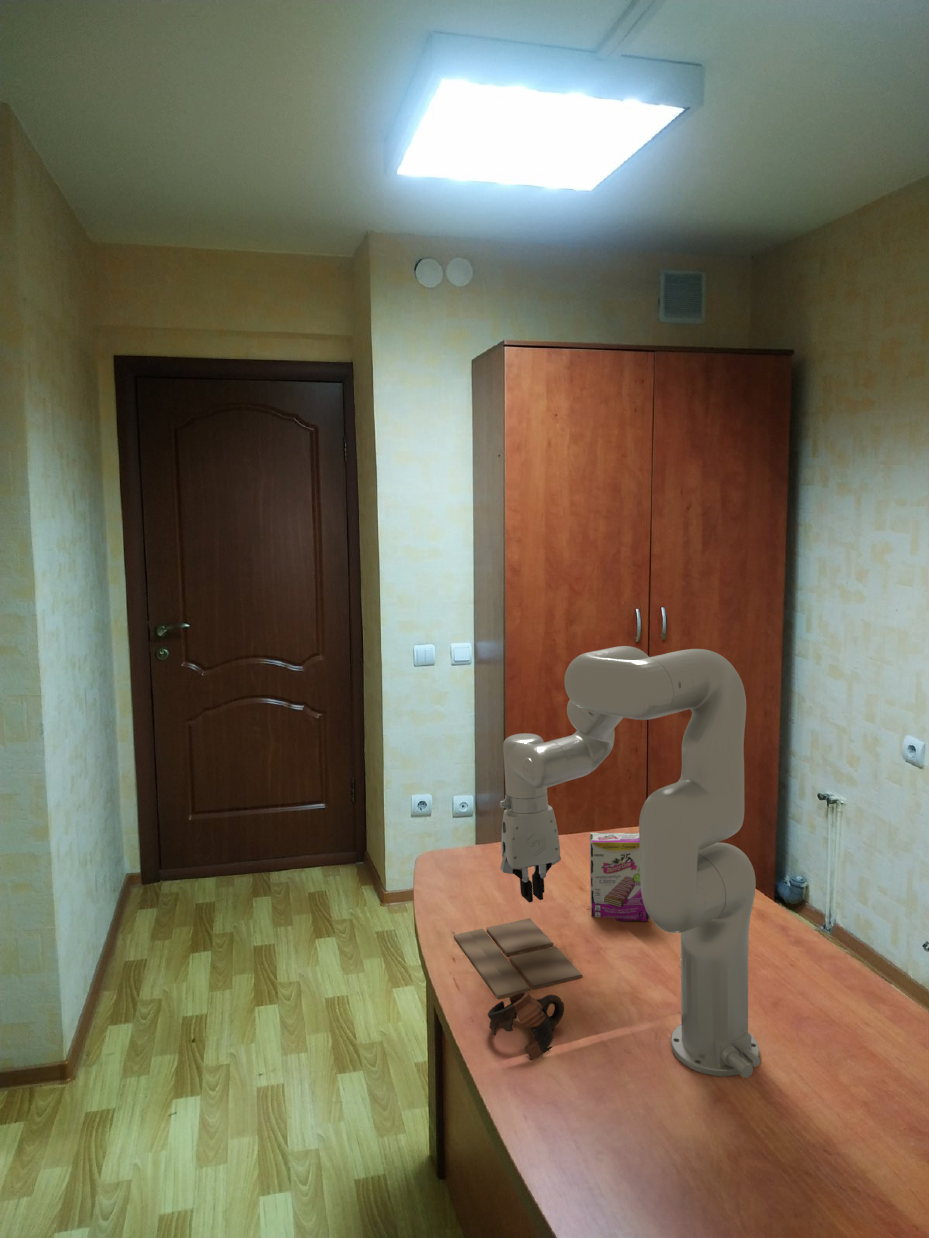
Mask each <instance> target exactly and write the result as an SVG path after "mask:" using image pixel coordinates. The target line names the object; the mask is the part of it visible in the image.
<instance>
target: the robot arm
mask: <svg viewBox="0 0 929 1238" xmlns="http://www.w3.org/2000/svg"><path fill="white" fill-rule="evenodd" d="M563 679H564V680H563V681H564V689H565V692H566V694H567V697H568V698H569V700H568V702H567V706H566V715H567V718H568V720H569V721H570V724H571V725H572V727H574V728H575V729H576V731H575V732H574V733H573V734H572V735H568V736H564V737H561V738H556V739H551V740H549V741H545V742H544V739H543V738H542V736H541V735H538V734H535V733H524V732H523V733H517V734H516V733H515V734H513V735H510V736H508V737H507V738H505V739H504V741H503V744H502V750H503V752H502V753H503V765H504V766H503V768H504V780H505V781H504V783H505V794H504V798H503V799H502V800H499V807H500V808H501V809H502V808H503V809H504V808H505V809H504V811H503V816H502V821H501V838H500V840H501V845H500V847H501V856H502V861H501V864H500V871H501V872H502V873H504V874H508V875H514V876H515V877H517V878H518V879H519V882H520V883H519V884H520V886H519V888H520V895H521V897H522V898H524V900H526V901H527V902H528V903H532V902H534V897H536V899H538V900H540V901H542V900H544V893H545V878H546V877H547V873H548V871H550V869H551V868H552V866H554V865H556V864H557V863H559V862H561V860H562V858H561V845H560V844H561V843H560V837H559V831H558V824H557V820H556V816H555V811H554V809H553V807H552V806H551V805H549V800H548V799H549V798H548V788H550V787H553V786H554V787H555V786H556V785H559V784H563V783H565V782H568V781H572V780H575V779H579V778H583V777H585V776H587V775H589V774H591V773H592V772H594V771H595V770H596V769H597V768H598V767H600V764H602V763H603V761H604V760H605V759H606V758H607V757H608V756H609V755H610V753H611V752H612V750H613V749H614V748H613V747H614V744H615V737H616V736H615V735H616V734H615V733H616V732H615V728H616V727H617V726H618V725H619V724H620V722H621V721H622V720H623V719H624V718H625V719H631V720H639V721H643V720H644V721H646V720H653V719H657V718H662V717H664V716H665V717H666V716H669V715H673V714H676V713H680V712H684V711H687V710H690V711H691V717H690V720H689V721H688V723H687V726H686V729H685V730H684V733H683V736H682V737H683V738H682V741H681V750H680V751H681V772H680V773H681V774H680V778H679V779H678V781H677V782H674V783H672V784H671V783H670V784H669V785H666V786H663V787H661V788H658V789H657V790H654V791H653V792H652V793H651V794H650V795H648V797H647V798H646V799H645V801H644V803H643V806H642V808H641V810H640V814H639V820H638V821H639V823H638V833H639V847H640V882H641V893H642V899H643V903H644V906H645V909H646V911H647V913H648V915H649V918H650V920H651V922H653V923H654V924H655V926H657V927H658V928H659V929H660V930H662V931H664V932H667V933H670V934H671V933H673V934H680V994H681V995H680V999H681V1000H680V1002H681V1005H680V1007H681V1008H680V1009H681V1012H680V1013H681V1014H680V1017H681V1023H680V1024H679V1025H678V1026H676V1027H675V1028H674V1029H673V1031H672V1033H671V1036H670V1046H671V1047H670V1048H671V1051H672V1053H673V1055H674V1056H675V1057H676V1058H677V1060H678V1061H680V1062H681V1063H682V1064H683V1065H684V1066H686V1067H688V1068H690V1069H691V1070H693V1071H696V1072H699V1073H702V1074H705V1075H709V1076H714V1077H733V1076H738V1075H740V1076H741V1077H742V1078H744V1079H747V1078H750V1077H751V1076H752V1074H753V1071H754V1070H753V1068H754V1067H758V1066H759V1065H760V1064H761V1058H760V1046H759V1043H758V1041H757V1040H756V1038H755V1037H754V1036H753V1034H752V1033H751V1032H749V943H750V942H749V937H750V924H751V916H752V911H753V905H754V900H755V897H756V896H755V895H756V887H757V885H756V875H755V869H754V867H753V865H752V862H751V861H750V859H749V857H748V855H746V853H745V852H743V850H741V849H740V848H738V846H735V845H734V844H730V843H728V842H727V843H726V842H722V841H725V840H727V839H729V838H731V837H732V836H734V835H735V834H737V833H738V832H739V831H740V829H741V828H742V827H743V824H744V820H745V818H744V817H745V756H744V755H745V753H744V752H745V751H744V745H745V744H744V742H745V730H746V720H747V719H746V717H747V697H746V691H745V687H744V683H743V680H742V679H741V677H740V675H739V673H738V671H737V670H736V668H735V667H734V665H732V663H731V662H730V661H729V660H728V659H727V658H725V657H724V656H722V655H721V654H720V653H718V652H715V651H712V650H709V649H703V648H690V649H682V650H677V651H672V652H668V653H664V654H658V655H654V656H649V655H648V654H647V653H646V652H645V651H643V650H641V648H637V647H635V646H630V645H628V646H627V645H621V646H620V645H619V646H614V647H609V648H604V649H598V650H593V651H589V652H585V653H581V654H580V655H578V656H576V657H575V658H574V659H573V660H571V662H570V663H569V665H568V667H567V669H566V671H565V674H564V678H563ZM532 867H533V873H532V875H531V879H530V877H529V869H528V868H532Z"/></svg>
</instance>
